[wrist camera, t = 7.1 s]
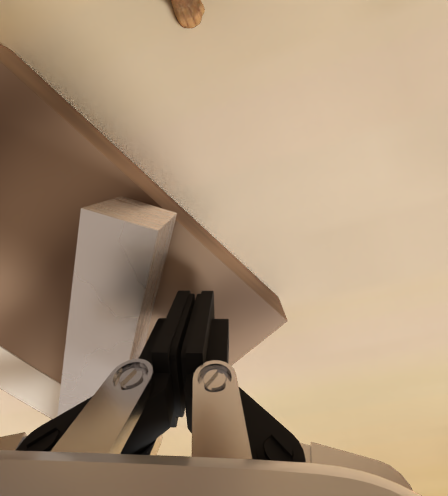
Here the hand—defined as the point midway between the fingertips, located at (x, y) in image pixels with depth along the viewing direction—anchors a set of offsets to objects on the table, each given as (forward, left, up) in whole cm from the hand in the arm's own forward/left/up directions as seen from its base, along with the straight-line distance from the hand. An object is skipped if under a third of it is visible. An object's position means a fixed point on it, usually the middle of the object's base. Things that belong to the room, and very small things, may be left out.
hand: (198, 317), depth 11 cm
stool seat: (+5, +5, -3) cm, 8 cm away
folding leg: (+1, +5, 0) cm, 5 cm away
